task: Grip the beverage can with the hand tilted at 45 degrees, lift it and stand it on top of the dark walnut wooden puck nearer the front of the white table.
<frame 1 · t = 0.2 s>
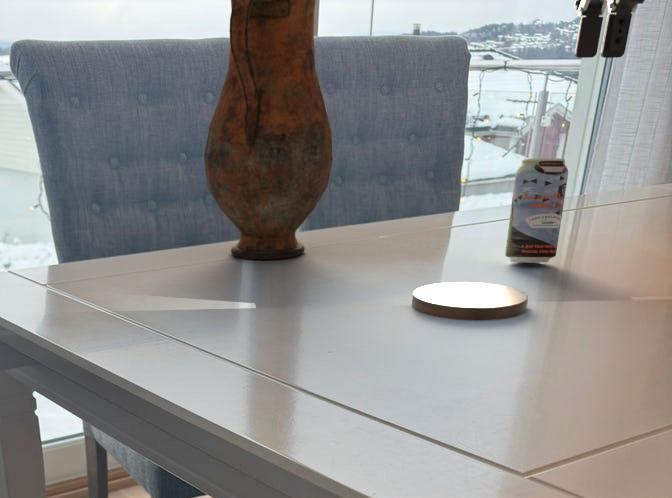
hand: (597, 57, 99), 22 cm above the table, tool pointing down, fingers open, 8 cm apart
beverage can: (527, 265, 118), on the table
walnut puck: (465, 325, 93), on the table
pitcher: (262, 256, 125), on the table
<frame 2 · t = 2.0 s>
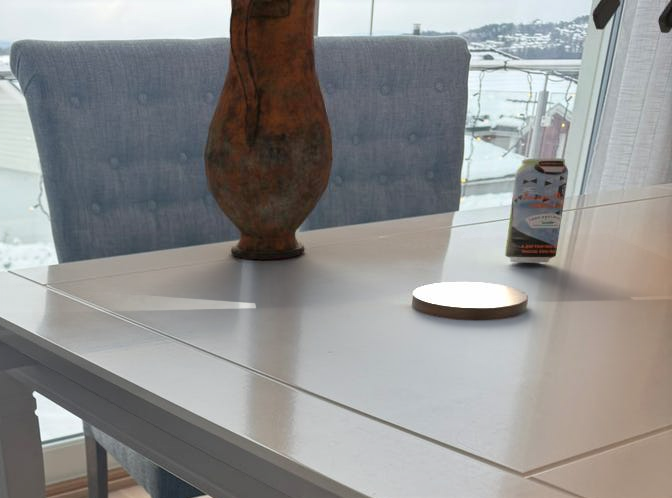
hand: (629, 25, 108), 25 cm above the table, tool tilted 45°, fingers open, 8 cm apart
nothing on the table moved.
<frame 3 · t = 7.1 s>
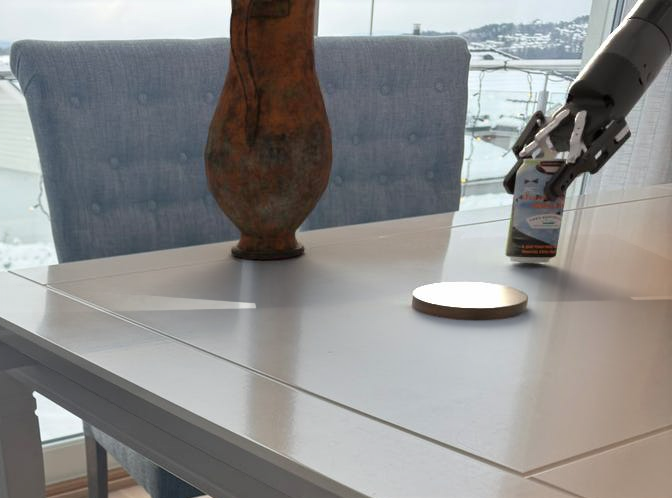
hand: (527, 192, 113), 8 cm above the table, tool tilted 45°, fingers closed on beverage can, 6 cm apart
beverage can: (527, 264, 118), on the table, touching gripper
everything else where it was.
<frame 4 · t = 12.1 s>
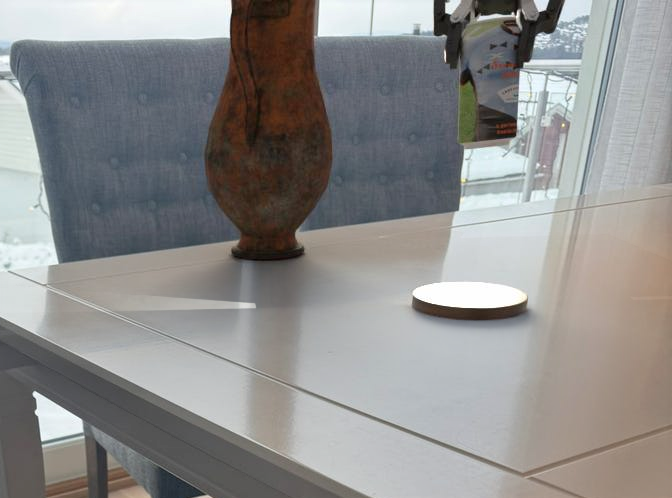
hand: (486, 62, 95), 22 cm above the table, tool tilted 45°, fingers closed on beverage can, 6 cm apart
beverage can: (479, 152, 101), point 14 cm above the table, touching gripper
everything else where it was.
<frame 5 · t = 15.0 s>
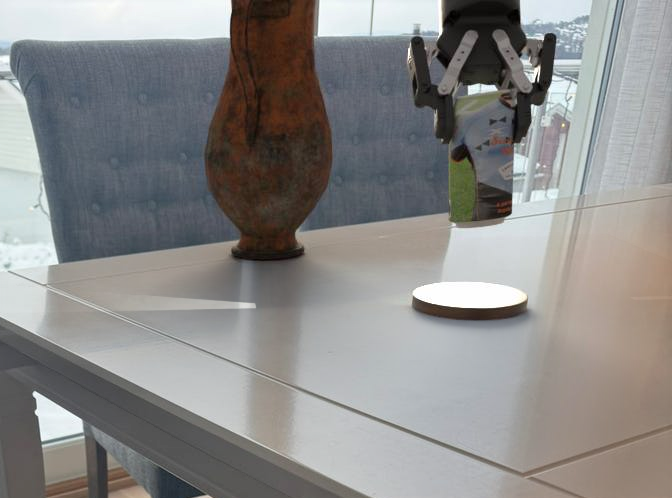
hand: (483, 137, 88), 16 cm above the table, tool tilted 45°, fingers closed on beverage can, 6 cm apart
beverage can: (471, 229, 93), point 8 cm above the table, touching gripper
everything else where it was.
when the fingers open (11 cm above the table, at t = 17.4 s): beverage can stays where it is, resting on walnut puck.
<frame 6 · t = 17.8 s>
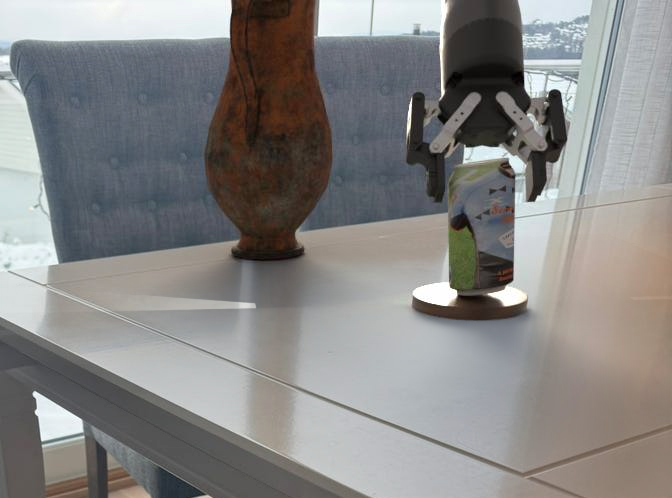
hand: (486, 196, 86), 12 cm above the table, tool tilted 45°, fingers open, 8 cm apart
beverage can: (472, 295, 92), point 3 cm above the table, touching walnut puck
walnut puck: (465, 325, 93), on the table, touching beverage can
everything else where it was.
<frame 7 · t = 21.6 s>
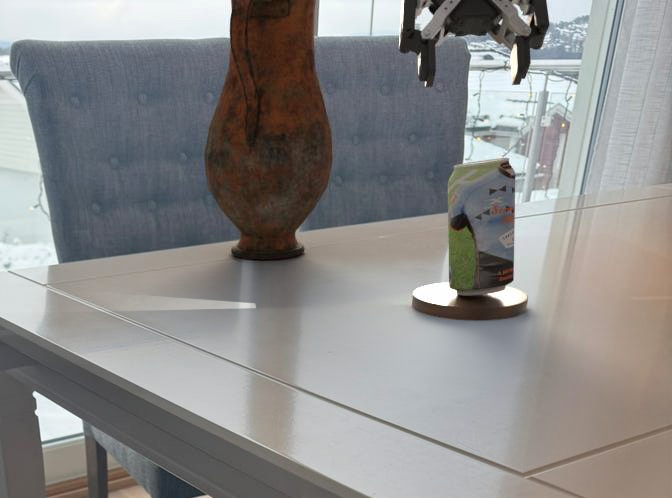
hand: (474, 79, 92), 21 cm above the table, tool tilted 45°, fingers open, 8 cm apart
nothing on the table moved.
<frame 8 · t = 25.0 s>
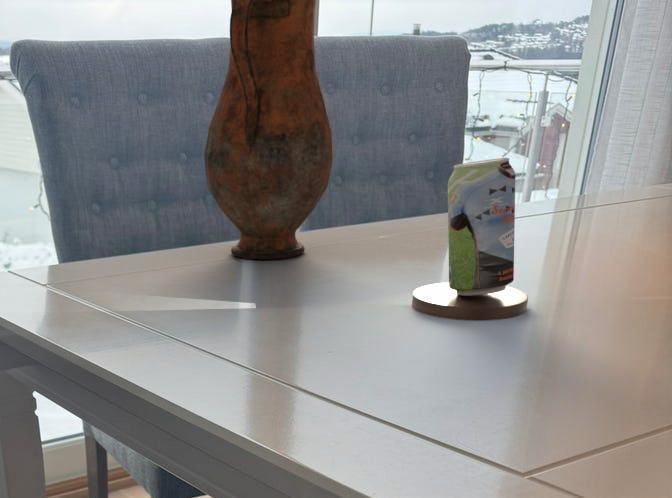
nothing on the table moved.
at the end: beverage can 0.3 cm off-centre on the walnut puck, point 2.8 cm above the walnut puck's base; beverage can tilted 0°; the gripper is holding nothing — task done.
